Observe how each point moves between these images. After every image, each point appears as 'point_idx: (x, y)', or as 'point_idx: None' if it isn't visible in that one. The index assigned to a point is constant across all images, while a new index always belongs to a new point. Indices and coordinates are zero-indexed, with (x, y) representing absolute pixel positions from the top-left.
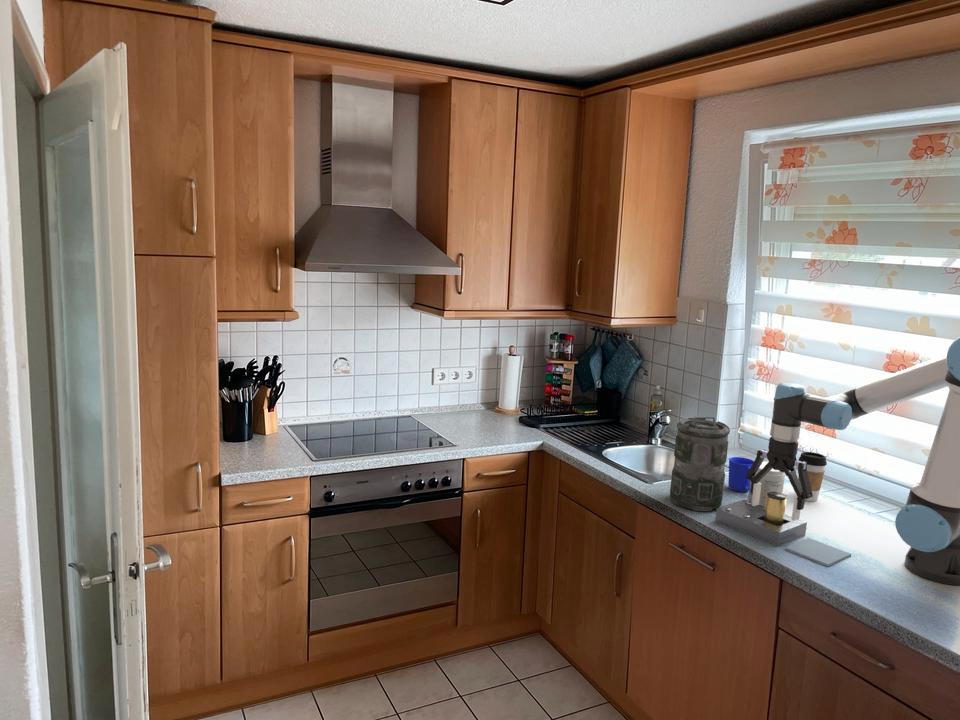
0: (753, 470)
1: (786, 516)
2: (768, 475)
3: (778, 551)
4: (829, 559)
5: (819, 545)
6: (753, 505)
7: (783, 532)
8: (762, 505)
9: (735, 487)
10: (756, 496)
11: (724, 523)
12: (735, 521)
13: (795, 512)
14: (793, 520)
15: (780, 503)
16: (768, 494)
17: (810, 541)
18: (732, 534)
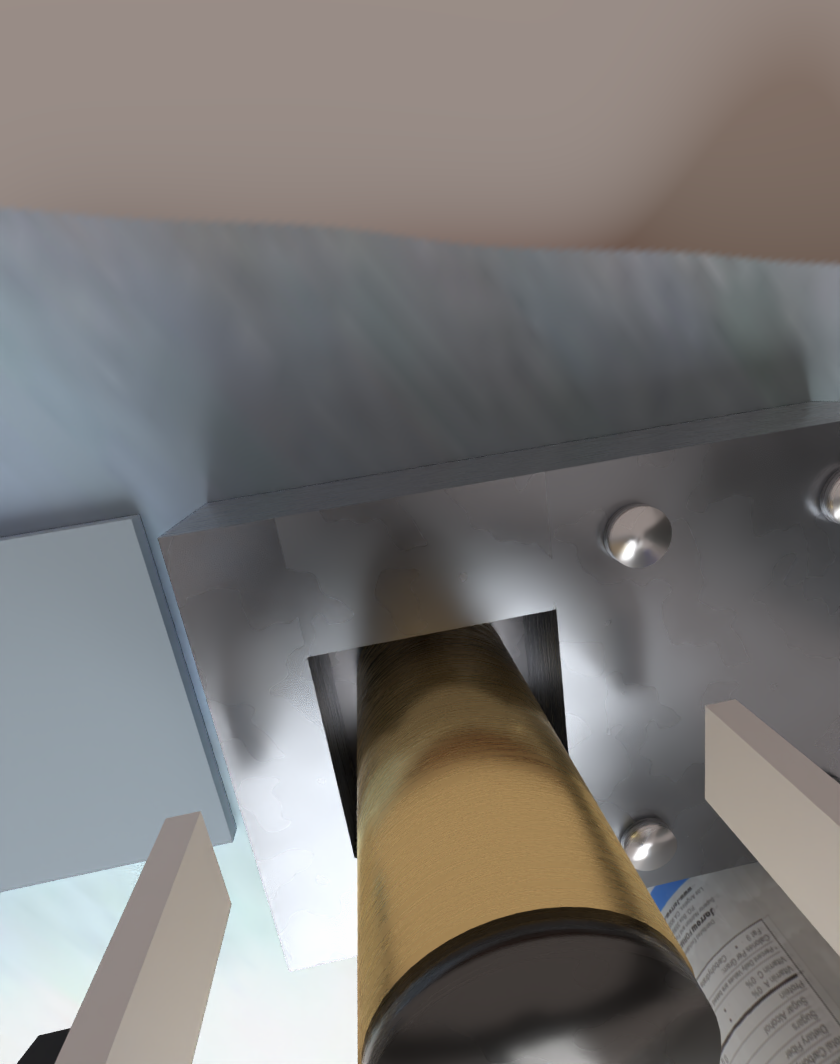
0: None
1: None
2: None
3: (118, 422)
4: None
5: (81, 815)
6: (712, 708)
7: (185, 608)
8: (735, 889)
9: None
10: (801, 833)
11: (734, 415)
12: (667, 437)
13: (120, 941)
14: (172, 822)
15: (372, 936)
16: (640, 965)
17: (165, 805)
18: (558, 312)
